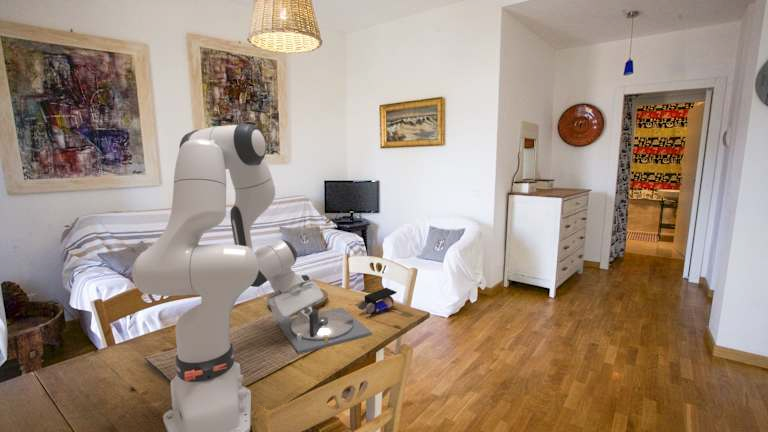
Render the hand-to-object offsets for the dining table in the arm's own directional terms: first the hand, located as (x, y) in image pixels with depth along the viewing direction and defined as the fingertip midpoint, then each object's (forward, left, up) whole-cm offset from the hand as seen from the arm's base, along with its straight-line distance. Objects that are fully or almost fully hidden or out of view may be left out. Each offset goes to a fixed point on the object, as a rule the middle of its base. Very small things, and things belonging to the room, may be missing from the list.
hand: (311, 320), depth 122 cm
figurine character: (+8, -29, -6) cm, 31 cm away
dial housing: (+4, -5, -6) cm, 9 cm away
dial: (+4, -5, -5) cm, 8 cm away
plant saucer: (+32, -5, -6) cm, 33 cm away
